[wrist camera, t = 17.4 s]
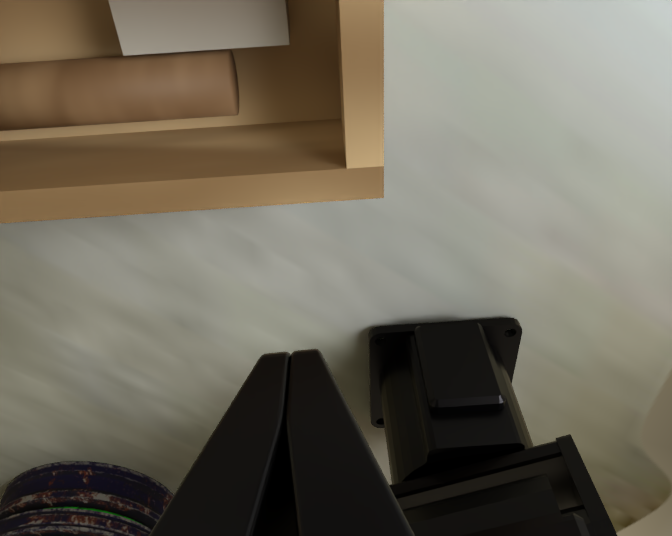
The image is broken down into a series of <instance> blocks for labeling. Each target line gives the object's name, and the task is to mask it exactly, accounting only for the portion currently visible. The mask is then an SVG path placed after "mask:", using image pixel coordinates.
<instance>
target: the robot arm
mask: <svg viewBox="0 0 672 536" xmlns="http://www.w3.org/2000/svg"><path fill="white" fill-rule="evenodd" d="M508 329H511V330H508ZM506 330H507V331H506ZM521 335H522V328H521V326H520V323H519V322H518V320H517V319H514V318H499V319H484V320H469V321H454V322H439V323H424V324H409V325H394V326H380V327H375V328H374V329H372V330H371V331H370V332H369V377H370V417H371V423H372V425H373V426H374V427H377V428H385V434H386V442H387V449H388V457H389V465H390V473H391V480H392V485H389V484H388V482H387V480H386V478H385V476H384V474H383V472H382V470H381V468H380V467H379V465H378V463H377V461H376V459H375V457H374V455H373V453H372V451H371V449H370V447H369V445H368V443H367V441H366V439H365V437H364V435H363V433H362V431H361V429H360V427H359V425H358V424H357V422H356V420H355V418H354V416H353V414H352V412H351V410H350V408H349V406H348V404H347V402H346V400H345V398H344V396H343V394H342V392H341V390H340V388H339V386H338V384H337V383H336V381H335V379H334V377H333V375H332V373H331V371H330V369H329V367H328V365H327V363H326V361H325V359H324V357H323V355H322V353H321V352H320V351H319V350H318V349H309V350H298V351H294V352H293V353H292V354H290V353H288V352H278V353H268V354H264V355H262V356H261V357H260V358H259V360H258V361H257V363H256V365H255V366H254V368H253V369H252V371H251V373H250V374H249V376H248V377H247V379H246V381H245V382H244V384H243V385H242V387H241V389H240V390H239V392H238V393H237V395H236V397H235V398H234V400H233V401H232V403H231V405H230V406H229V408H228V409H227V411H226V413H225V414H224V416H223V417H222V419H221V421H220V422H219V424H218V425H217V427H216V429H215V430H214V432H213V433H212V435H211V437H210V438H209V440H208V441H207V443H206V445H205V446H204V448H203V450H202V451H201V453H200V454H199V456H198V458H197V459H196V461H195V462H194V464H193V466H192V467H191V469H190V470H189V472H188V474H187V475H186V477H185V478H184V480H183V482H182V483H181V485H180V486H179V488H178V490H177V491H176V493H175V494H174V496H173V498H172V499H171V501H170V502H169V504H168V506H167V507H166V509H165V510H164V512H163V514H162V515H161V517H160V518H159V520H158V522H157V523H156V525H155V526H154V528H153V530H152V531H151V533H150V534H149V536H617V534H616V532H615V529H614V527H613V525H612V523H611V521H610V518H609V516H608V514H607V512H606V510H605V508H604V505H603V503H602V501H601V499H600V497H599V495H598V493H597V490H596V488H595V486H594V484H593V482H592V480H591V478H590V475H589V473H588V471H587V469H586V467H585V465H584V463H583V460H582V458H581V456H580V454H579V452H578V450H577V447H576V445H575V443H574V441H573V439H572V437H571V435H570V434H569V435H566V436H562V437H558V438H556V441H553V442H550V443H546V444H542V445H538V446H533V443H532V440H531V438H530V435H529V432H528V429H527V426H526V424H525V421H524V418H523V415H522V412H521V410H520V407H519V404H518V401H517V398H516V396H515V393H514V390H513V387H512V384H511V383H512V379H513V374H514V369H515V364H516V359H517V354H518V349H519V345H520V340H521ZM380 337H384V338H382V339H377V338H380Z"/></svg>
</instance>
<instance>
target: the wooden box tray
mask: <svg viewBox="0 0 672 536" xmlns="http://www.w3.org/2000/svg"><path fill="white" fill-rule="evenodd" d="M373 198H384V0H0V223H12V222H27V221H42V220H57V219H72V218H87V217H102V216H117V215H132V214H147V213H162V212H177V211H192V210H207V209H222V208H237V207H253V206H268V205H283V204H298V203H313V202H328V201H343V200H358V199H373Z"/></svg>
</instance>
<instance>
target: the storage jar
mask: <svg viewBox="0 0 672 536" xmlns="http://www.w3.org/2000/svg"><path fill="white" fill-rule="evenodd" d="M173 496H174V495H173V494H172V493H171V492H170V491H169V490H168V489H167V488H166V487H164V486H163V485H162V484H160V483H159V482H157V481H156V480H154V479H152V478H150V477H148V476H146V475H144V474H141V473H139V472H136V471H134V470H130V469H127V468H124V467H120V466H115V465H110V464H105V463H97V462H82V461H71V462H58V463H52V464H46V465H43V466H39V467H35V468H33V469H30V470H28V471H26V472H24V473H22V474H20V475H19V476H17V477H16V478H15V479H14V480H13V481H12V482H11V483H10V484H9V485H8V487H7V489H6V491H5V493H4V495H3V497H2V500H1V505H0V536H149V534H150V533H151V531H152V530H153V528H154V526H155V525H156V523H157V522H158V520H159V518H160V517H161V515H162V514H163V512H164V510H165V509H166V507H167V506H168V504H169V502H170V501H171V499H172V498H173Z"/></svg>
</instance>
